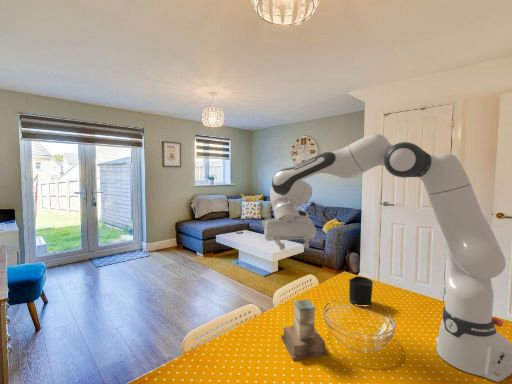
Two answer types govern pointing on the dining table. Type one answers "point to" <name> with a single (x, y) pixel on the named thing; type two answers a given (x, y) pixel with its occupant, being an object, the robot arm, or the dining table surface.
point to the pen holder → (360, 290)
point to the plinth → (303, 345)
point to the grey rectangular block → (304, 319)
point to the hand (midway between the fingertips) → (294, 248)
